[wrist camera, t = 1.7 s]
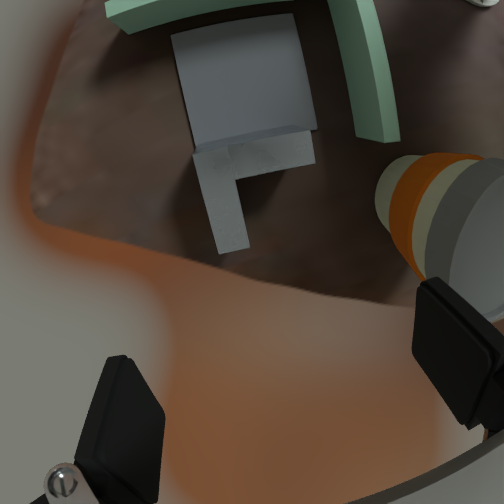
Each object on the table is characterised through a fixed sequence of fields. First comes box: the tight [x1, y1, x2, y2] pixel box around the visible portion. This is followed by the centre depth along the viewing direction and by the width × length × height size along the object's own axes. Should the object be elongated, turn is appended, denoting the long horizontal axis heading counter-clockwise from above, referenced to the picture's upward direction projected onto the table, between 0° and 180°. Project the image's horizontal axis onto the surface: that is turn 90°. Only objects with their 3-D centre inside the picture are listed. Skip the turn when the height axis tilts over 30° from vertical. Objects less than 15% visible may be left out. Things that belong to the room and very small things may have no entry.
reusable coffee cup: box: [375, 152, 504, 322], centre depth 24 cm, size 13×12×15 cm
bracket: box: [192, 125, 315, 254], centre depth 26 cm, size 8×8×6 cm
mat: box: [170, 13, 318, 147], centre depth 25 cm, size 12×11×1 cm
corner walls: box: [105, 0, 400, 143], centre depth 22 cm, size 16×20×6 cm
